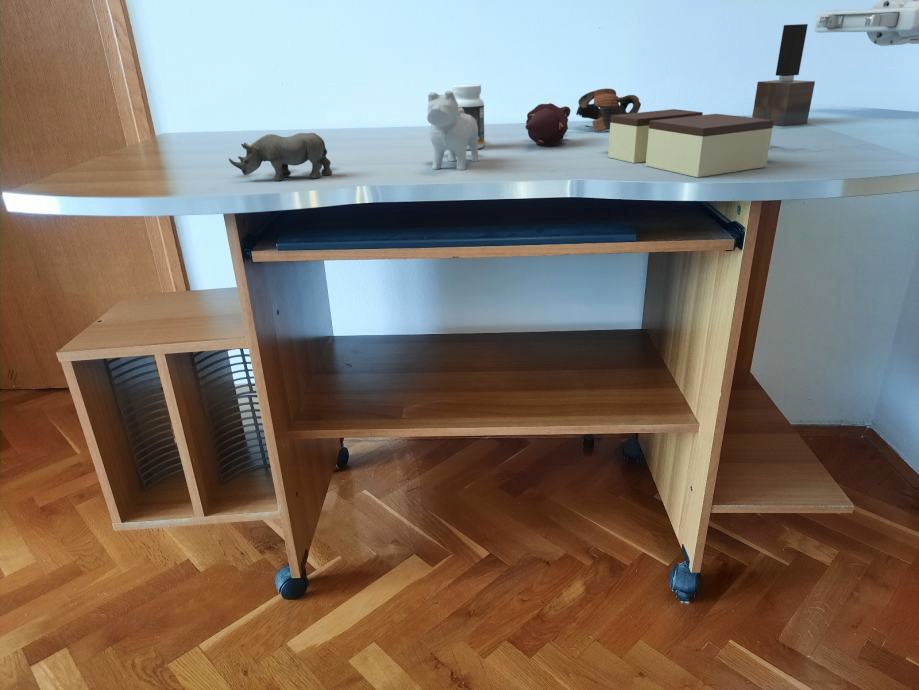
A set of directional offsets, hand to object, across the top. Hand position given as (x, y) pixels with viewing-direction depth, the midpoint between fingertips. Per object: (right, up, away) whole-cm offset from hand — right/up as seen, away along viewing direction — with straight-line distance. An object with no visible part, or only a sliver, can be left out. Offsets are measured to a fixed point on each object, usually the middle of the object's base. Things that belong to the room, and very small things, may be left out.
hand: (843, 21), depth 113 cm
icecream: (-53, -24, -5) cm, 59 cm away
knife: (-10, -17, +2) cm, 20 cm away
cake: (-35, -33, -26) cm, 54 cm away
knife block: (-10, -18, +3) cm, 21 cm away
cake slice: (-39, -29, -17) cm, 52 cm away
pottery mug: (-40, -16, +11) cm, 44 cm away
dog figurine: (-69, -31, -19) cm, 78 cm away
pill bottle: (-67, -24, -4) cm, 71 cm away
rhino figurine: (-93, -34, -23) cm, 102 cm away
